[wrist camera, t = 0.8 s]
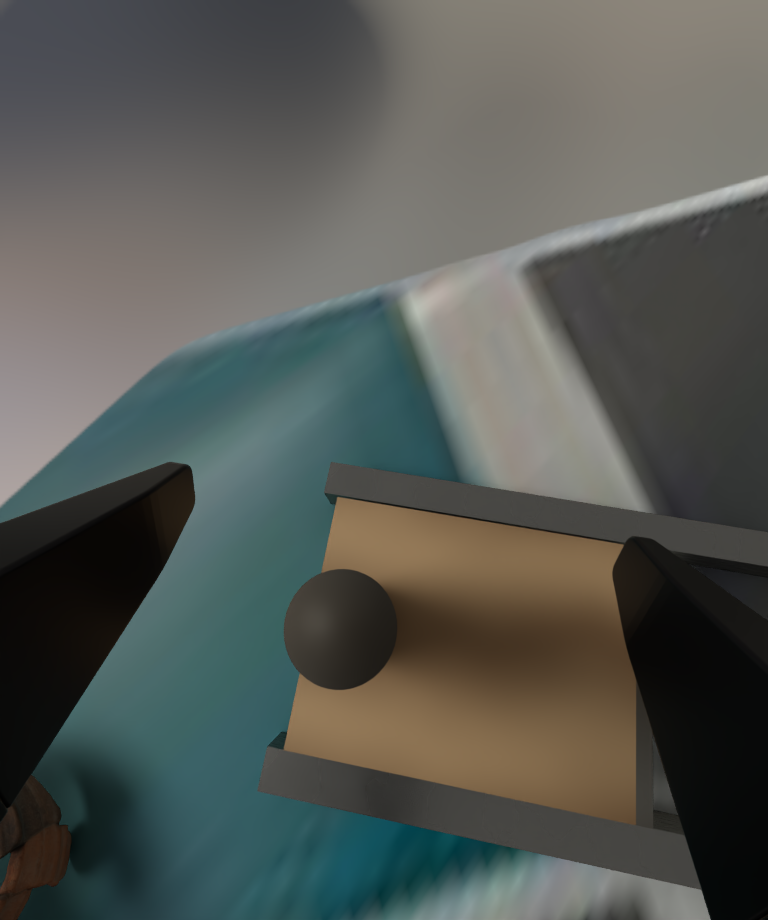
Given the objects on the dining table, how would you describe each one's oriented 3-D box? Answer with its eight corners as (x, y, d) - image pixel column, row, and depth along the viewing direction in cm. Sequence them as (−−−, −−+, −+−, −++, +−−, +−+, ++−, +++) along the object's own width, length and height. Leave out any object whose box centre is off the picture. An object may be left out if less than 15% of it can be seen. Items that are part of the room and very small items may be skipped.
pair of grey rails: (992, 927, 18) (1148, 1010, 15) (272, 771, 21) (244, 806, 17) (923, 571, 23) (1029, 563, 19) (336, 475, 25) (326, 451, 21)
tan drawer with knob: (604, 787, 20) (832, 979, 10) (303, 725, 21) (212, 835, 11) (608, 559, 23) (784, 515, 13) (346, 515, 24) (309, 440, 14)
